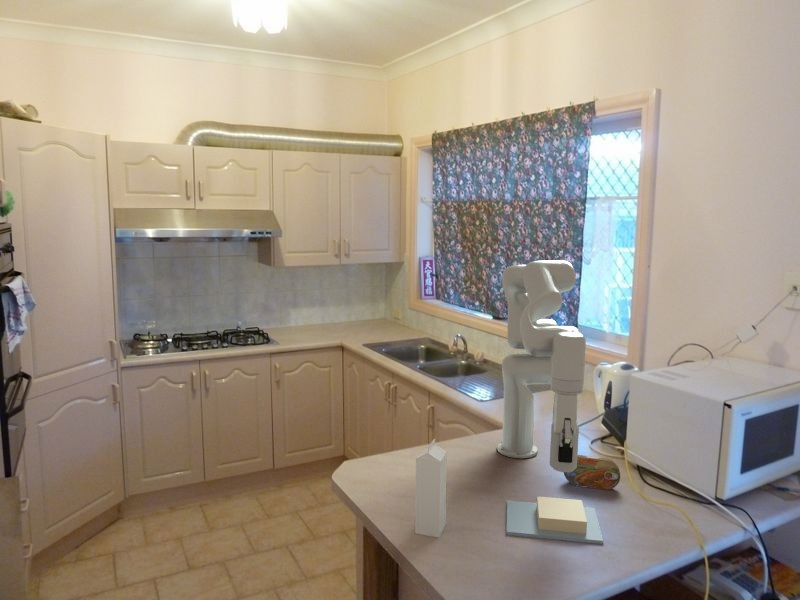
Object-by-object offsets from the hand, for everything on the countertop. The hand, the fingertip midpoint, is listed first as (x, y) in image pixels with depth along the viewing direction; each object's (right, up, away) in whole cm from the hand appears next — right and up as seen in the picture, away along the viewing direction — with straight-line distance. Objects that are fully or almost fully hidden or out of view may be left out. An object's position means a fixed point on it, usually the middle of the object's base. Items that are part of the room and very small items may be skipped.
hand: (563, 455), depth 149 cm
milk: (-32, -18, -1) cm, 37 cm away
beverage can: (0, -3, 0) cm, 3 cm away
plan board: (-2, -17, +3) cm, 18 cm away
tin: (+14, -14, +23) cm, 31 cm away
